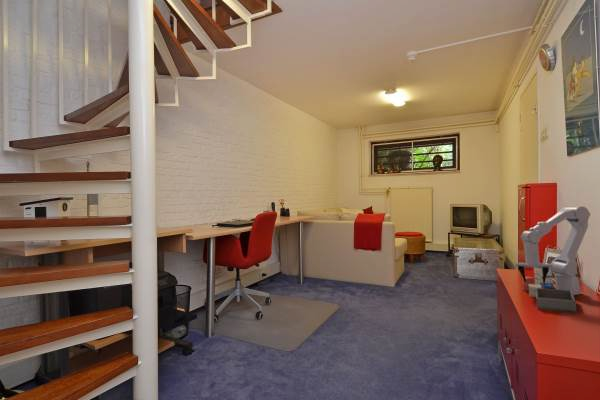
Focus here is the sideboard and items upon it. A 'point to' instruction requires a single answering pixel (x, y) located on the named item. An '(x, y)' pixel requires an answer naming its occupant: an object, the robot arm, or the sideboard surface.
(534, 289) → the cube
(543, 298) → the tote
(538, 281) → the ink box
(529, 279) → the capsule
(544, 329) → the sideboard surface
